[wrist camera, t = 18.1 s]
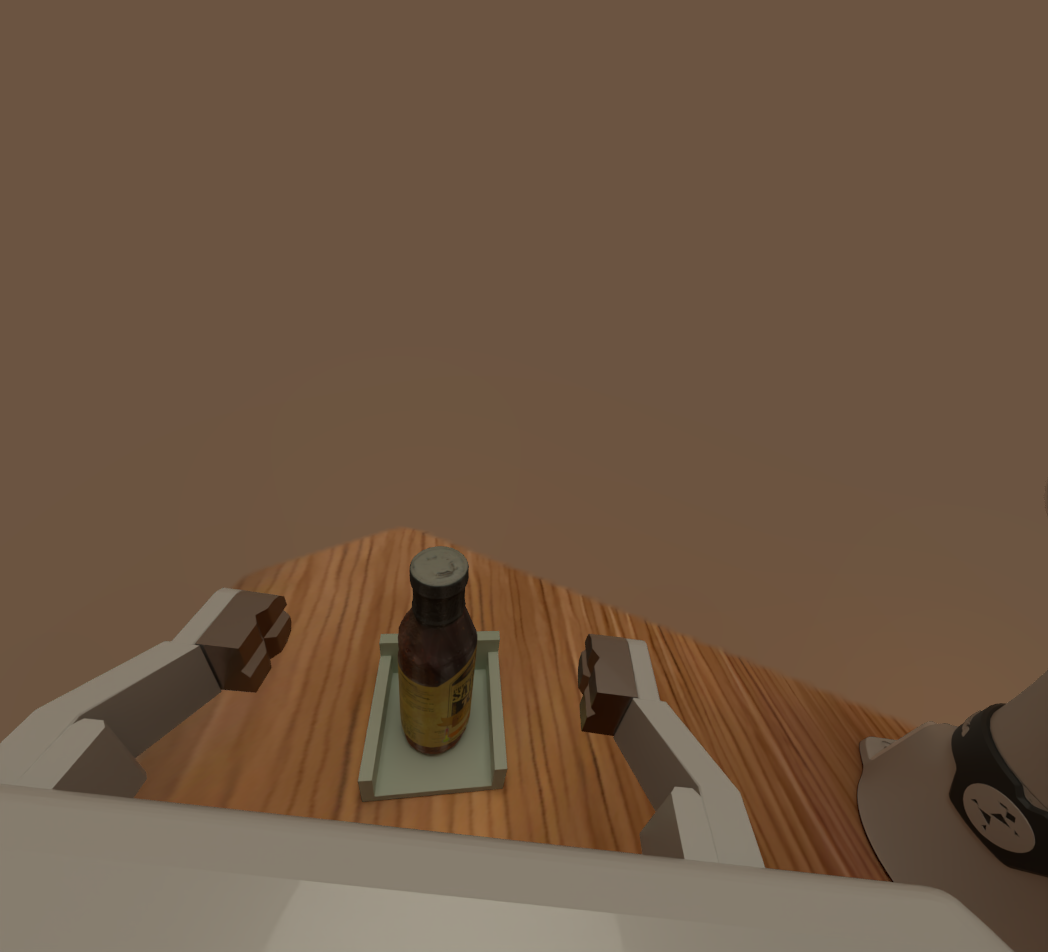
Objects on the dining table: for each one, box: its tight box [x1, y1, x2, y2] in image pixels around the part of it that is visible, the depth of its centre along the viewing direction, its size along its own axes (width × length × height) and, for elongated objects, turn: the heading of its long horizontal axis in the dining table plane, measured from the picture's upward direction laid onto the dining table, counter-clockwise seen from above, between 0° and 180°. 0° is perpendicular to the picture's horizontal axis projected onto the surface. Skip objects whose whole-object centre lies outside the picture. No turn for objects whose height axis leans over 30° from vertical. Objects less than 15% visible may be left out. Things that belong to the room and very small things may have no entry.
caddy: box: [358, 631, 507, 802], centre depth 37 cm, size 12×12×6 cm
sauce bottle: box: [398, 546, 477, 755], centre depth 33 cm, size 7×6×20 cm
